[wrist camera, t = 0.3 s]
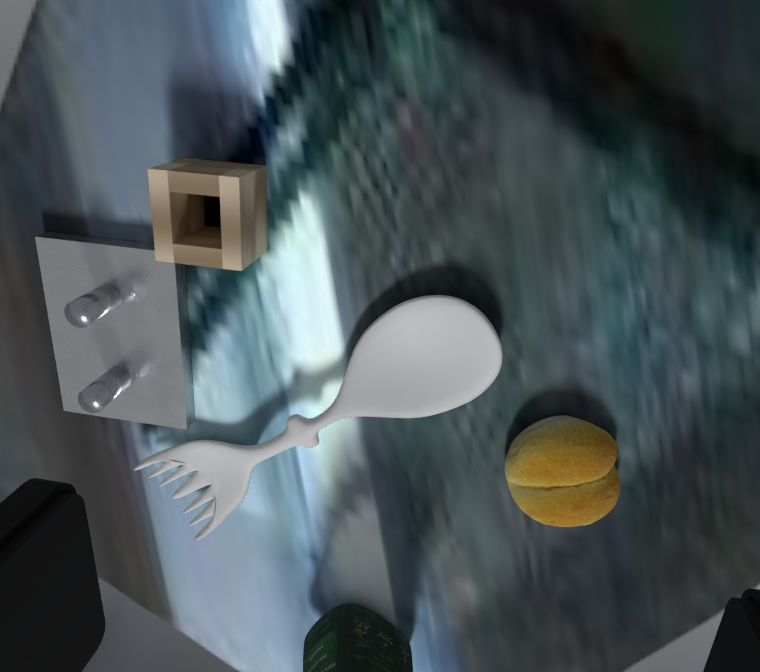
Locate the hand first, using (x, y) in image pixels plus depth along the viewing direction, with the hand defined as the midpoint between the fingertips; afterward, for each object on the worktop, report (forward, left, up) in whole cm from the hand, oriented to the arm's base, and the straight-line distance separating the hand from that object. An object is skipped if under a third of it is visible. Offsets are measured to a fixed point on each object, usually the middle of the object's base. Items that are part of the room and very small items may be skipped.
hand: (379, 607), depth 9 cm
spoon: (+19, -10, -36) cm, 42 cm away
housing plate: (+14, -26, -35) cm, 46 cm away
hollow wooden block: (+3, -17, -35) cm, 39 cm away
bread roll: (+20, +9, -36) cm, 42 cm away
